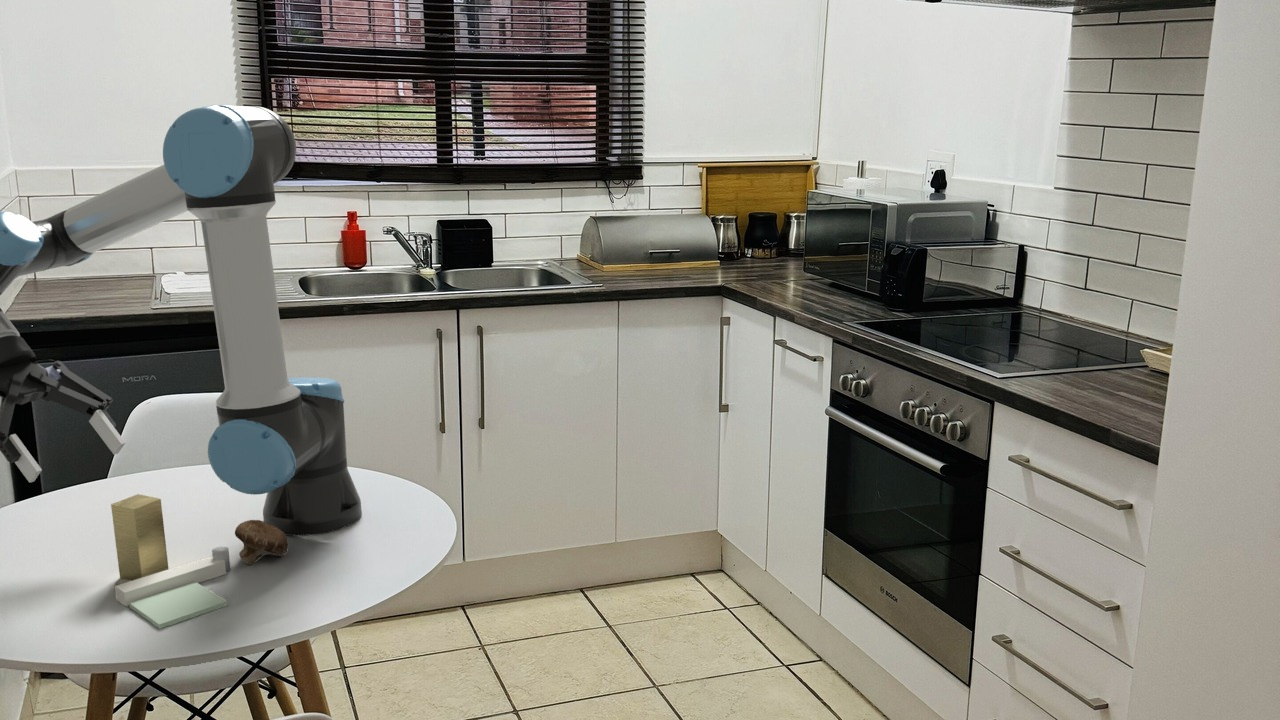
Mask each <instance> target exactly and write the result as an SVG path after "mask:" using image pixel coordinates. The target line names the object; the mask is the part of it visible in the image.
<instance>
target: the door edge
mask: <svg viewBox="0 0 1280 720" xmlns="http://www.w3.org/2000/svg"><path fill="white" fill-rule="evenodd" d="M211 553H212V554H211V556H207V557H204V558H200V559H198V560H194V561H192V562H188V563H187V562H186V563H185V564H181V565H179V566H175V567H172V568H169V569H168V570H165V571H162V572H158V573H155V574H152V575H149V576H146V577H142V578H139V579H136V580H133V581H130V580H129V581H127V582H123V583H120V584H117V585H115V586H114V590H115V591H114V592H115V598H116V601H117V602H119V603H120V604H121V605H123V606H124V607H128V606H129V607H130V603H132V602H135V601H138V600H141V599H144V598H147V597H150V596H153V595H156V594H159V593H162V592H166V591H169V590H172V589H175V588H178V587H181V586H184V585H187V584H190V583H193V582H197V583H198V584H200V583H203V582H205V581H209V580H212V579H215V578H218V577H222V576H224V575H227V573H229V572H230V571H231V560H230V550H229V547H228V546H217V547H214V548H213V549H211Z"/></svg>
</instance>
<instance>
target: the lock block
mask: <svg viewBox="0 0 1280 720" xmlns="http://www.w3.org/2000/svg"><path fill="white" fill-rule="evenodd" d="M110 506H111V515H112V522H113V523H112V525H113V530H114V531H113V532H114V541H115V548H116V555H117V556H116V558H117V565H118V571H119V572H118V573H119V579H122V580H126V581H129V582H130V581H133V580H136V579H139V578H142V577H146V576H149V575H152V574H155V573H158V572H162V571H165V570H168V569H170V568H169V559H168V554H167V552H168V551H167V543H166V535H165V534H166V533H165V525H164V517H163V516H164V515H163V508H162V507H163V506H162V498H159V497H154V496H149V495H143V494H139V493H138V494H135V495H132V496H129V497H127V498H124V499H121V500H119V501H117V502H114V503H111V504H110Z"/></svg>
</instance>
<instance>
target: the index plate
mask: <svg viewBox="0 0 1280 720" xmlns="http://www.w3.org/2000/svg"><path fill="white" fill-rule="evenodd" d="M227 606H228V601H227V600H226V599H224V598H223V597H221V596H219V595H218V594H216V593H214V592H212V591H211V590H210V589H208V588H206V587H205V586H203V585H201V584H200V583H197V582H193V583H190V584H187V585H184V586H181V587H178V588H175V589H172V590H169V591H166V592H162V593H159V594H156V595H153V596H150V597H147V598H144V599H141V600H138V601H135V602H132V603H130V605H129V608H130V609H132V610H133V611H135V612H136V613H137V614H138V615H140V616H141V617H143V618H144V619H145V620H147V621H148V622H150V623H151V624H153V626H155V627H156V628H157V629H163V628H165V627H169V626H172V625H174V624H179V623H181V622H183V621H186V620H189V619H191V618H196V617H198V616H200V615H203V614H206V613H209V612H213V611H215V610H218V609H220V608H224V607H227Z"/></svg>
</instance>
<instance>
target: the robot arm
mask: <svg viewBox="0 0 1280 720" xmlns="http://www.w3.org/2000/svg"><path fill="white" fill-rule="evenodd" d="M163 140H164V141H163V145H162V160H163V164H162V165H160V166H157V167H155V168H153V169H151V170H149V171H146V172H145V173H143V174H140V175H138V176H136V177H134V178H132V179H130V180H128V181H127V180H126V181H125V182H124V183H121V184H119V185H116V186H115V187H112V188H110V189H107V190H106V191H104V192H101V193H100V194H97V195H95V196H93V197H91V198H89V199H86V200H85V201H82V202H80V203H77V204H75V205H74V206H71V207H69V208H68V209H66V210H63V211H61V212H58V213H56V214H54V215H52V216H49V217H47V218H44V219H40V220H35V221H31V220H30V219H29V218H27V217H26V216H23V215H22V214H18V213H15V214H14V213H12V212H11V211H0V296H1V295H2V294H3V293H4V292H5V291H6V290H7V288H9V286H10V285H11V284H12V283H13V282H14V281H15V280H16V279H17V278H18V277H20V276H25V275H30V274H35V273H38V272H45V271H47V270H51V269H52V270H53V269H56V268H62V267H71V266H74V265H77V264H79V263H81V262H84V261H86V260H88V259H90V257H92V255H93V254H94V253H96V252H98V251H100V250H102V249H105V248H107V247H110V246H112V245H114V244H116V243H118V242H120V241H123V240H125V239H127V238H130V237H132V236H134V235H136V234H138V233H142V232H143V231H145V230H148V229H150V228H152V227H154V226H157V225H159V224H161V223H163V222H166V221H168V220H170V219H172V218H175V217H177V216H179V215H182V214H184V213H186V212H189V213H191V214H192V215H193V216H195V217H196V218H197V219H198V220H199V221H200V223H201V231H202V236H203V245H204V250H205V257H206V265H207V271H208V279H209V285H210V286H209V287H210V292H211V299H212V307H213V313H214V321H215V327H216V333H217V339H218V347H219V349H218V350H219V355H220V361H221V367H222V368H221V369H222V375H223V383H224V390H223V392H222V393H220V395H219V396H218V398H217V399H216V401H215V406H216V415H217V420H218V426H217V427H216V428H215V430H214V431H213V433H212V434H211V436H210V438H209V441H208V444H207V457H208V461H209V465H210V466H211V469H212V470H213V473H215V475H216V477H218V479H219V480H220V481H221V482H222V483H225V484H226V485H227V486H229V487H230V489H232V490H234V491H237V492H239V493H242V494H245V495H253V496H254V495H263V494H266V498H265V500H264V501H265V502H264V506H263V508H262V515H263V517H262V518H263V522H265V523H268V524H270V525H273V526H275V527H278V528H279V529H280V530H281V531H283V532H284V534H285V535H287V536H313V535H320V534H325V533H331V532H334V531H339V530H341V529H344V528H346V527H348V526H351V525H353V524H354V523H356V522H357V521H358V520H359V519H360V518H361V517H362V513H363V510H362V501H361V498H360V495H359V493H358V490H357V488H356V486H355V483H354V482H353V478H352V476H351V473H350V471H349V469H348V461H347V460H348V459H347V455H348V454H347V442H346V439H347V438H346V427H345V426H346V425H345V422H346V421H345V410H344V409H345V408H344V403H345V400H344V397H343V391H342V386H341V384H340V383H339V381H337V380H335V379H332V378H328V377H316V376H315V377H313V376H312V377H306V376H305V377H300V376H299V377H288V372H287V365H286V356H285V349H284V342H283V334H282V326H281V319H280V318H281V317H280V313H279V303H278V297H277V287H276V281H275V273H274V265H273V258H272V251H271V249H272V248H271V242H270V236H269V227H268V220H267V216H268V213H269V212H270V211H271V209H272V208H273V207H274V206H275V205H276V202H277V201H276V193H275V186H274V184H276V183H278V182H280V181H281V180H282V179H284V178H285V177H286V176H287V175H288V174H289V172H290V171H291V169H292V168H293V166H294V163H295V160H296V156H297V142H296V138H295V135H294V132H293V131H292V129H291V127H290V125H289V124H288V123H287V122H286V121H285V119H284V118H283V117H282V116H280V115H279V113H276V112H274V111H272V110H271V109H269V108H266V107H262V106H259V105H222V104H220V105H219V104H218V105H217V104H212V105H208V106H202V107H198V108H197V107H195V108H192V109H190V110H187V111H185V112H184V113H183V114H181V115H180V116H178V117H177V118H176V119H175V120H174V122H173V123H172V124H171V126H169V128H168V130H167V132H166V135H165V137H164V139H163ZM47 387H49V388H50V389H49V391H47V390H48V388H47ZM0 398H1V401H0V452H1V454H2V455H3V456H4V458H5V459H6V460H7V462H9V463H10V464H13V463H14V464H15V465H16V466H17V468H18V469H19V470H20V472H21V473H22V475H23V476H24V477H25V479H26V480H27V481H28V483H33V482H35V481H36V479H37V478H38V476H40V474H41V472H42V468H41V466H40V465H39V464H38V462H37V461H36V460H35V458H34V457H33V456H32V454H31V453H30V451H29V450H28V449H27V447H26V446H25V445H24V443H23V441H22V440H21V439H20V438H19V436H18V435H17V434H16V433H13V434H9V431H10V428H11V424H12V419H13V415H14V412H15V411H14V410H15V407H16V404H17V405H19V406H22V405H24V404H27V403H29V402H36V401H37V402H38V401H41V400H43V401H46V402H50V401H51V402H52V401H53V402H54V403H56V404H60V405H61V406H64V407H67V408H68V409H71V410H73V411H76V412H78V413H81V414H83V415H86V416H87V417H90V419H89V420H88V422H89V423H90V426H92V428H93V429H94V430H95V431H96V433H97V435H99V437H100V439H102V441H103V443H104V444H105V445H106V446H107V448H108V450H110V452H111V453H112V454H113V455H118V454H119V453H120V451H122V449H123V448H124V446H125V444H126V441H125V440H124V439H123V437H122V436H121V434H120V433H119V432H118V430H117V429H116V427H117V423H116V422H115V420H114V419H113V418H112V417H111V415H110V413H109V412H108V411H107V410H108V408H109V407H110V405H112V403H113V401H114V400H113V398H112V397H111V396H109V395H108V394H106V393H105V392H103V391H102V390H100V389H98V388H97V387H96V386H94V385H92V384H91V383H89V382H88V381H86V380H85V379H83V378H82V377H80V376H78V375H77V374H76V373H74V372H73V371H71V370H70V369H68V367H67V366H66V365H65V364H64V363H63V361H61V360H55V361H54V363H53V365H51V366H48V367H43V366H42V365H41V364H40V363H38V360H37V358H36V354H35V353H34V352H33V349H32V348H31V347H30V346H29V345H28V343H27V342H26V340H25V339H24V337H22V336H21V334H20V332H19V331H18V330H17V328H16V327H15V325H13V323H12V321H11V320H10V319H9V318H8V316H7V314H5V313H4V311H3V310H2V308H1V307H0ZM8 435H9V436H8Z"/></svg>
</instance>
